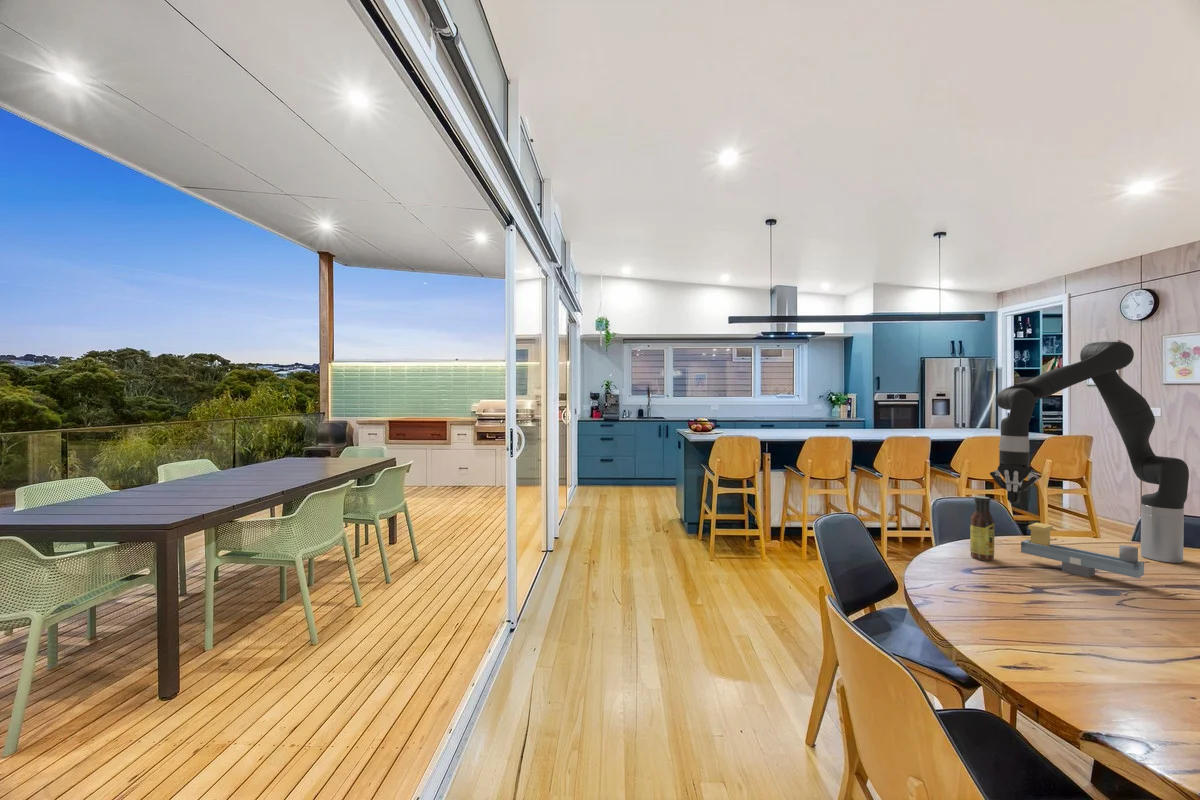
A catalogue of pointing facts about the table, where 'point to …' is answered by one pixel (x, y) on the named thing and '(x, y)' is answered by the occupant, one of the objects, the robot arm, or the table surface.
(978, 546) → the sauce bottle
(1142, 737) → the table surface
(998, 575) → the table surface
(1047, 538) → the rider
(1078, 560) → the beam
